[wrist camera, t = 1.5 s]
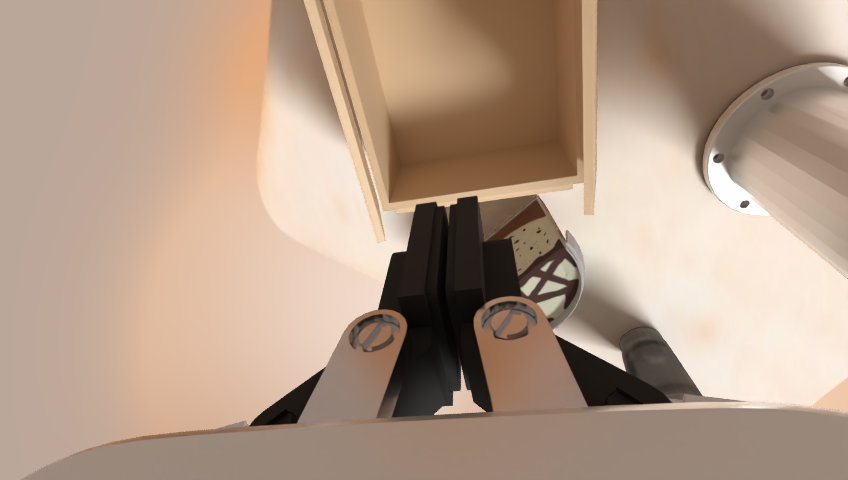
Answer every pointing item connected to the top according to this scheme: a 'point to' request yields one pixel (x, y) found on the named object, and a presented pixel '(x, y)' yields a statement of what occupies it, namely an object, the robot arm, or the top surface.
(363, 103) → the carton
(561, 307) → the food container
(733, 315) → the top surface
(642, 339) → the beverage cup
